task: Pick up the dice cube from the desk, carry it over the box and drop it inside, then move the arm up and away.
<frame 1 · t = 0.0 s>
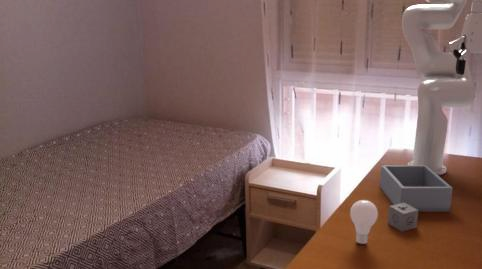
hand: (477, 74, 124), 37 cm above the table, tool pointing down, fingers open, 9 cm apart
dice cube: (401, 226, 118), on the table
box: (412, 198, 134), on the table
lightbulb: (361, 244, 109), on the table
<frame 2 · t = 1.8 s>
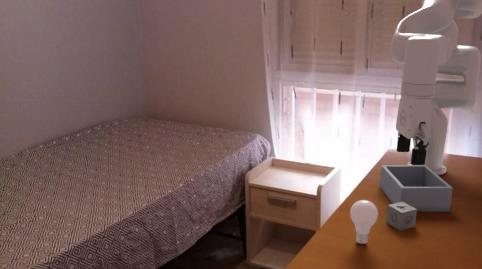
hand: (409, 157, 113), 18 cm above the table, tool pointing down, fingers open, 9 cm apart
nothing on the table moved.
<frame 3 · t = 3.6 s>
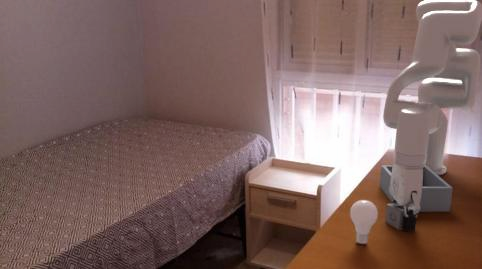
hand: (402, 222, 118), 1 cm above the table, tool pointing down, fingers open, 7 cm apart
dice cube: (399, 224, 119), on the table, touching gripper
everything else where it was.
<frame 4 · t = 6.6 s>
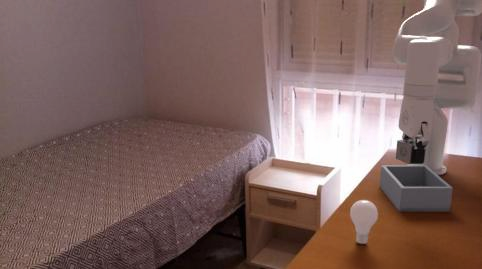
hand: (411, 158, 118), 17 cm above the table, tool pointing down, fingers closed on dice cube, 6 cm apart
dice cube: (409, 160, 118), point 16 cm above the table, touching gripper
everything else where it was.
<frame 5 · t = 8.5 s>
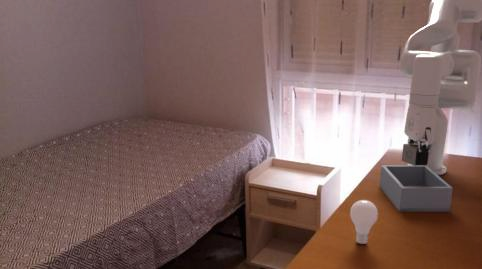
hand: (416, 160, 131), 12 cm above the table, tool pointing down, fingers closed on dice cube, 5 cm apart
dice cube: (414, 162, 131), point 11 cm above the table, touching gripper
everything else where it was.
when the fingers open (9 cm above the table, at t = 9.4 s): dice cube drops 8 cm, resting on box.
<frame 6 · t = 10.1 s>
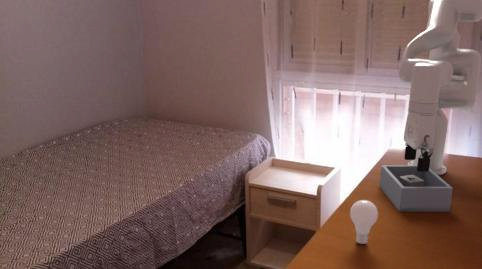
hand: (416, 165, 132), 10 cm above the table, tool pointing down, fingers open, 9 cm apart
dice cube: (409, 194, 135), point 1 cm above the table, touching box
everything else where it was.
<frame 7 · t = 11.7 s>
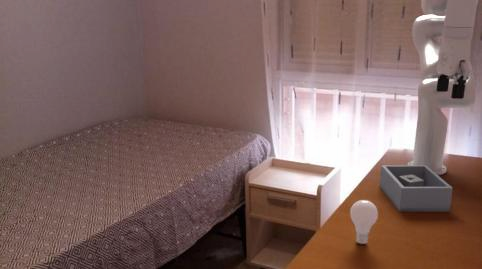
hand: (449, 94, 130), 30 cm above the table, tool pointing down, fingers open, 9 cm apart
nothing on the table moved.
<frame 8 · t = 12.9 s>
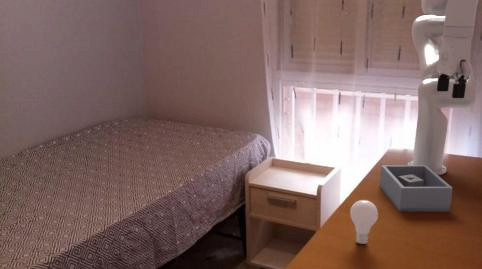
hand: (449, 94, 130), 30 cm above the table, tool pointing down, fingers open, 9 cm apart
nothing on the table moved.
at the end: dice cube inside the target area on the box (1.0 cm from its centre), point 0.8 cm above the box's base; the gripper is holding nothing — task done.
